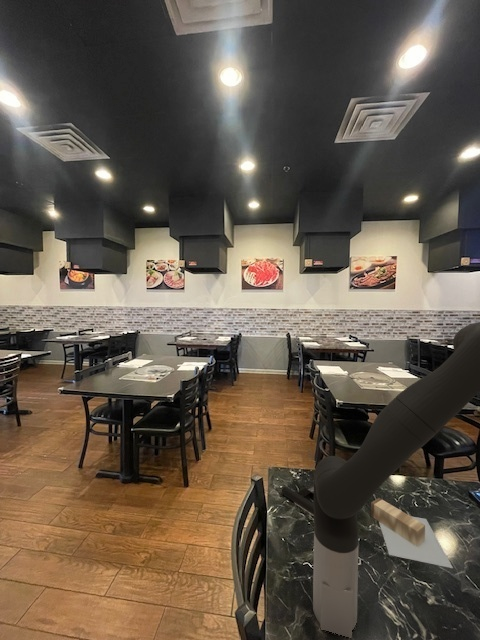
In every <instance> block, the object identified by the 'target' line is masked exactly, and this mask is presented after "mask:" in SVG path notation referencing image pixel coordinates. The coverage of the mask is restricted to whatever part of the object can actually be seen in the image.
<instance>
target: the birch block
mask: <svg viewBox="0 0 480 640" xmlns="http://www.w3.org/2000/svg"><path fill="white" fill-rule="evenodd" d="M370 517H372V518H373V519H375V520H376V521H378V523H379V522H380V523H382V524H383V525H385V526H386V527H388V528H389V529H391V530H392V531H394V532H395V533H397V534H398V535H400V536H401V537H403V538H404V539H406V540H407V541H409V542H410V543H412V544H413V545H415V546H416V547H417V546H419V545H420V544H421V543H422V542H423V541H424V540H425V525H424V524H423V523H421V522H419V521H418V520H416V519H414V518H412V517H413V516H412V517H411V516H410V515H409V514H407V513H406V512H404V511H402V510H401V509H399V508H397V507H396V506H394V505H392V504H391V503H388V502H387V501H385V500H384V499H382V498H380V497H378V498H376V499H375V500H373V501H372V502H370Z"/></svg>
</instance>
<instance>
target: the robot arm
mask: <svg viewBox="0 0 480 640" xmlns="http://www.w3.org/2000/svg"><path fill="white" fill-rule="evenodd" d="M452 347H453V350H454V352H453V353H451V355H449V357H448V358H447V359H446V360H445V361H444V362H443V363H442V364H441V365H440V366H438V367H437V368H436V369H435V370H433V371H432V372H430V373H428V374H427V375H425V376H423V377H422V378H420V379H418V380H417V381H415V382H414V383H412V384H410V385H408V386H407V387H406V388H405V389H403V390H402V391H401V392H400V393H398V394H397V395H396V396H395V397H394V398H393V399H392V400H391V401H390V402H389V403H388V404H387V405H386V406H385V407H384V408H382V410H381V411H380V412H379V413H378V415H377V416H376V417H375V419H374V421H373V423H371V426H370V428H369V430H368V433H367V434H366V436H365V438H364V440H363V442H362V444H361V445H360V447H359V448H358V450H357V451H356V452H355V453H354V454H353V455H352V456H351V457H350V458H349V459H347V460H346V459H344V458H343V457H340V456H337V455H329V456H325V457H324V458H322V459H320V460H319V461H318V463H317V465H316V466H315V468H314V472H313V473H314V474H313V487H314V500H313V503H314V516H313V521H314V524H313V525H314V526H313V530H314V531H313V575H312V576H313V579H312V584H313V585H312V590H313V591H312V592H313V593H312V594H313V595H312V609H313V613H314V616H315V618H316V620H317V621H318V624H319V626H320V627H319V629H320V628H321V629H320V630H321V631H322V630H326V631H329V632H332V633H331V634H333V633H334V634H333V635H336V634H338V635H337V636H340V635H342V636H341V637H343V636H345V637H344V638H346V637H352V638H353V632H352V630H353V629H354V627H355V625H356V623H358V589H359V588H358V587H359V586H358V582H359V580H358V578H359V576H358V575H359V570H358V569H359V524H358V518H357V514H358V512H360V511H361V510H362V509H363V508H364V507H365V506H366V504H367V503H368V502H369V501H370V500H371V498H372V497H373V496H374V495H375V494H376V492H377V491H378V490H379V489H380V488H381V486H382V485H383V484H384V483H385V482H386V481H387V480H388V478H390V476H392V475H393V474H394V473H395V472H396V471H397V470H398V469H400V467H402V465H404V463H406V462H407V461H408V460H409V459H410V458H411V457H412V456H413V455H414V454H415V453H417V452H418V451H419V450H421V449H422V448H423V447H424V446H425V445H426V444H427V443H429V441H430V440H432V438H434V437H435V436H436V435H437V434H438V433H439V432H440V431H441V430H442V429H443V428H444V427H445V426H446V425H447V424H448V423H449V422H450V421H452V419H453V418H454V417H455V416H456V415H457V414H458V413H460V412H461V411H462V410H463V409H464V408H465V407H466V406H467V404H469V403H470V402H471V401H472V400H473V398H474V397H476V396H477V395H478V394H479V393H480V321H478V322H474V323H471V324H468V325H466V326H463V327H462V328H461V329H459V330H458V331H457V332H456V334H455V335H454V337H453V340H452ZM356 626H357V625H356ZM355 628H356V627H355ZM354 630H355V629H354ZM326 631H325V632H326ZM329 632H328V633H329ZM335 633H336V634H335Z"/></svg>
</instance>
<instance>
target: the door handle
mask: <svg viewBox="0 0 480 640" xmlns="http://www.w3.org/2000/svg"><path fill="white" fill-rule="evenodd" d="M281 494H282V495H283V496H284V497H285V498H287V499H289V500H290V501H291V502H293V504H294V505H295V506H298V507H299V508H300V509H302V510H303V511H305V512H306V513H308V514H309V515H311V516H312V517H314V502H313V501H314V486H312V487H311V488H308V489H307V488H305V487H304V488H303V489H301V490H300V491H297V492H296V491H295V490H293V489H292V488H289V487H287V486H283V487H282V489H281ZM310 500H312V501H310Z"/></svg>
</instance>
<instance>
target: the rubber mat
mask: <svg viewBox="0 0 480 640" xmlns="http://www.w3.org/2000/svg"><path fill="white" fill-rule="evenodd" d="M411 517H412V518H414V519H416V520H418V521H419V522H421V523H423V524H424V525H425V540H424V541H423V542H422V543H421V544H420V545H419V546H417V547H416V546H415V545H413V544H412V543H410V542H409V541H407V540H406V539H404V538H403V537H401V536H400V535H398V534H397V533H395V532H394V531H392V530H391V529H389V528H388V527H386V526H385V525H383V524H382V523H380V522H379V521H378V523H379V527H380V530H381V533H382V537H383V539H384V540H383V541H384V542H385V545H386V549H387V552H388V555H389V556H392V557H396V558H397V557H398V558H403V559H406V560H407V559H408V560H412V561H415V562H421V563H425V564H430V565H435V566H440V567H444V568H450V569H454V567H453V565H452V564H451V562H450V560H449V558H448V557H447V554H446V552H445V551H444V549H443V547H442V546H441V544H440V542H439V540H438V538H437V536H436V534H435V533H434V531H433V529H432V527H431V525H430V524H429V522H428V520H427V518H423V517H422V518H421V517H417V516H411Z"/></svg>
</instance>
